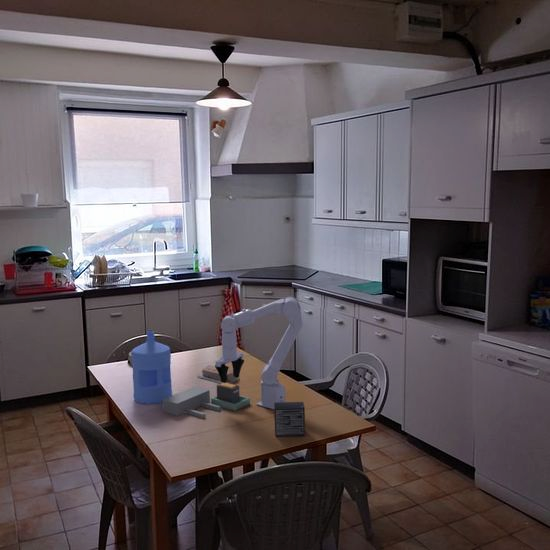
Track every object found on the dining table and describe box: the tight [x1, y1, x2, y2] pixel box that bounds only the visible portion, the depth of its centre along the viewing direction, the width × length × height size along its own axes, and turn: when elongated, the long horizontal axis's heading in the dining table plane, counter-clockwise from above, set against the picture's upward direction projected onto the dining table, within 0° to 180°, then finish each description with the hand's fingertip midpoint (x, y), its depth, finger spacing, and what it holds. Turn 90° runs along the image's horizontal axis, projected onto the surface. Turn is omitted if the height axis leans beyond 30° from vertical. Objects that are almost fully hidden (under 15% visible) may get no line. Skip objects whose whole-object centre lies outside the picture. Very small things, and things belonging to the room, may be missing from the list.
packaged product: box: [196, 365, 241, 384], centre depth 263 cm, size 18×5×10 cm
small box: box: [273, 401, 306, 438], centre depth 203 cm, size 11×6×10 cm, turn 92°
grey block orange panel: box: [216, 383, 240, 404], centre depth 231 cm, size 8×4×7 cm, turn 54°
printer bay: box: [162, 386, 222, 419], centre depth 226 cm, size 18×18×5 cm
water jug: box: [131, 330, 173, 405], centre depth 237 cm, size 16×16×28 cm
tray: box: [210, 394, 251, 412], centre depth 231 cm, size 13×9×2 cm
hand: (230, 379), depth 229 cm, fingers open, 7 cm apart
